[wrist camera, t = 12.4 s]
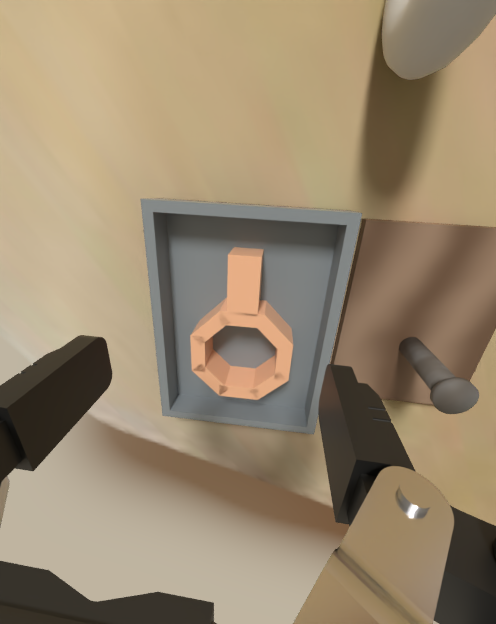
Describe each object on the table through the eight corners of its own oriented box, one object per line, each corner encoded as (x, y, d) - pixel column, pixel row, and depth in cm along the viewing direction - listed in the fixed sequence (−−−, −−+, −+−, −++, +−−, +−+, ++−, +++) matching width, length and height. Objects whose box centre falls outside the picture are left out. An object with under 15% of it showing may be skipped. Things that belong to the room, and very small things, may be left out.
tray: (350, 210, 20) (362, 213, 17) (310, 411, 28) (313, 434, 26) (158, 198, 21) (140, 198, 18) (173, 395, 29) (162, 415, 27)
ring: (301, 251, 21) (305, 260, 18) (284, 381, 26) (285, 403, 24) (197, 244, 22) (186, 251, 19) (201, 372, 27) (192, 392, 24)
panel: (531, 229, 19) (668, 248, 13) (450, 399, 26) (512, 473, 19) (362, 218, 20) (405, 230, 13) (325, 386, 27) (342, 451, 20)
